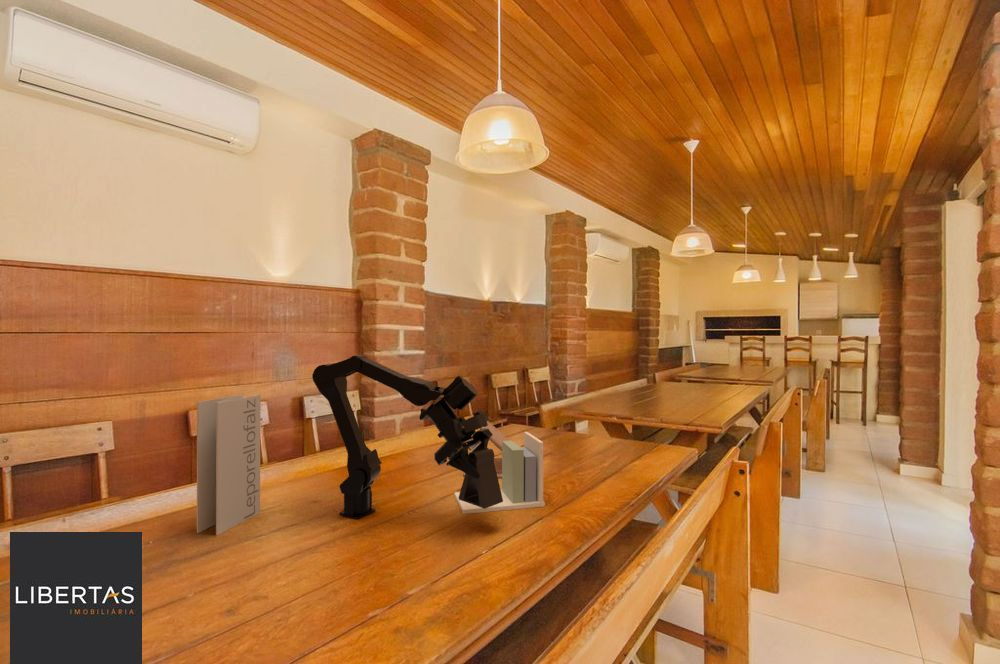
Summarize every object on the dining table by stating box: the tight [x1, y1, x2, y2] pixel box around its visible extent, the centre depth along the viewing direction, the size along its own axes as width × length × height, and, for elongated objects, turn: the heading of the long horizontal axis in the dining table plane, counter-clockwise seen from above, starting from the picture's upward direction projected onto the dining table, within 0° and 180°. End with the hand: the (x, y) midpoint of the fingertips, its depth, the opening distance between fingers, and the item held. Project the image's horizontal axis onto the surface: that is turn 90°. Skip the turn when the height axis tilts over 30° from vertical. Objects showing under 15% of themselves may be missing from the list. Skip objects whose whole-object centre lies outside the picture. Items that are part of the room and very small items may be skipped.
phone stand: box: [459, 447, 503, 509], centre depth 115 cm, size 9×6×12 cm, turn 48°
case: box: [462, 421, 511, 479], centre depth 163 cm, size 20×21×16 cm
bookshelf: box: [453, 431, 546, 515], centre depth 133 cm, size 22×14×17 cm, turn 105°
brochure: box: [196, 393, 261, 536], centre depth 117 cm, size 14×6×30 cm, turn 168°
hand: (486, 474), depth 115 cm, fingers closed on phone stand, 6 cm apart
